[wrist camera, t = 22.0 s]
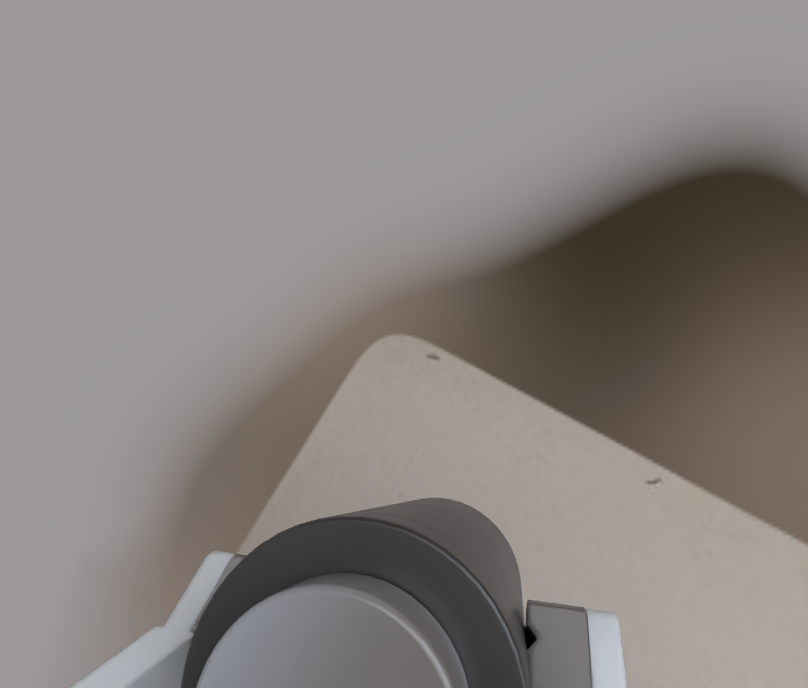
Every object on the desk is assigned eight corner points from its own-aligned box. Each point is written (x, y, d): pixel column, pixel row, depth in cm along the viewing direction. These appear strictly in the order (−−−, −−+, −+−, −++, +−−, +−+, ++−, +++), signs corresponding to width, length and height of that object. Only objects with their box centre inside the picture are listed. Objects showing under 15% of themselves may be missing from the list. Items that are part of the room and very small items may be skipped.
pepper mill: (350, 664, 16) (93, 954, 6) (363, 492, 17) (162, 507, 7) (520, 686, 15) (535, 1068, 5) (522, 503, 16) (538, 538, 6)
